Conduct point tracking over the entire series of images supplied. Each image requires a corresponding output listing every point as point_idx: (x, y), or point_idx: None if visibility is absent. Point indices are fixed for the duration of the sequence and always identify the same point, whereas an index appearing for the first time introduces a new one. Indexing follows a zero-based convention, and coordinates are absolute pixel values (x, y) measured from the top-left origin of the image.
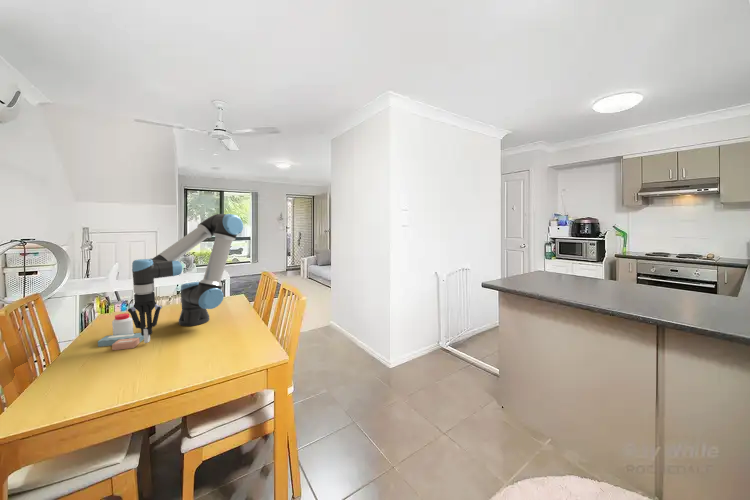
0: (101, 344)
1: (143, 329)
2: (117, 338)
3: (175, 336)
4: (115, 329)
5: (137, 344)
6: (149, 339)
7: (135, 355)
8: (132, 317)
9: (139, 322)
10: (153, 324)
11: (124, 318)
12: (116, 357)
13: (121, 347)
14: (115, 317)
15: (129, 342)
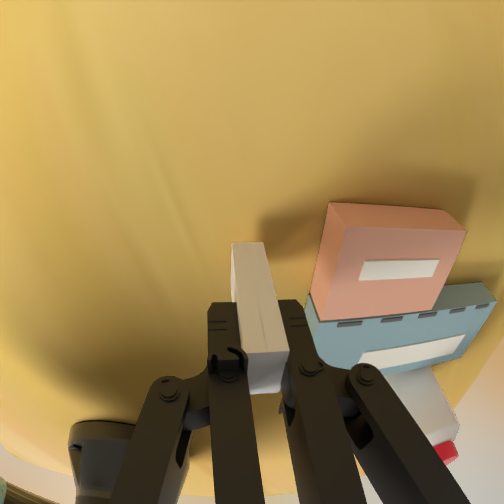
0: (478, 289)
1: (288, 350)
2: (432, 327)
3: (106, 337)
4: (440, 392)
5: (317, 262)
6: (231, 281)
7: (269, 22)
8: (454, 487)
9: (353, 441)
10: (162, 408)
11: None
12: (405, 51)
13: (409, 213)
14: (456, 451)
15: (376, 242)
